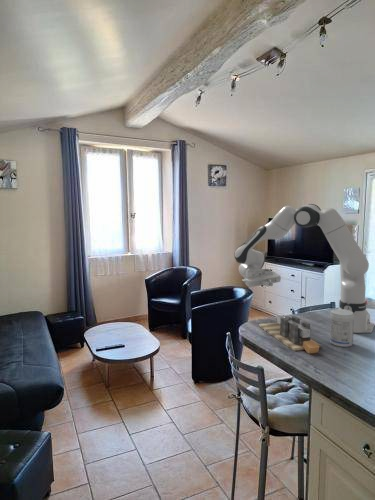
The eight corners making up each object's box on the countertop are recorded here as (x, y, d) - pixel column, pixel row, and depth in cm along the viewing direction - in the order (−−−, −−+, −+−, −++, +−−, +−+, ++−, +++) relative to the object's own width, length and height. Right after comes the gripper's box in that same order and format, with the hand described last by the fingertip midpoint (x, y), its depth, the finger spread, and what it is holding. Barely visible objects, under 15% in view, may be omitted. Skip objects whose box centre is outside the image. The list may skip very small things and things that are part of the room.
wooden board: (259, 326, 171) (259, 308, 171) (281, 324, 175) (281, 306, 174) (294, 350, 140) (294, 329, 139) (320, 347, 143) (321, 326, 142)
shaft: (274, 325, 162) (274, 313, 162) (285, 324, 164) (285, 312, 163) (300, 341, 141) (300, 327, 140) (312, 339, 142) (312, 326, 142)
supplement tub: (337, 338, 154) (338, 307, 152) (357, 344, 146) (358, 312, 144) (325, 342, 148) (326, 311, 147) (345, 349, 140) (346, 316, 139)
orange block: (303, 341, 140) (309, 348, 136) (313, 340, 141) (319, 346, 137) (302, 346, 141) (308, 353, 137) (311, 345, 142) (318, 352, 138)
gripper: (240, 274, 181) (253, 282, 169) (272, 268, 188) (286, 276, 175) (240, 284, 183) (253, 293, 170) (271, 279, 189) (286, 287, 177)
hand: (270, 284), depth 173 cm, fingers closed
